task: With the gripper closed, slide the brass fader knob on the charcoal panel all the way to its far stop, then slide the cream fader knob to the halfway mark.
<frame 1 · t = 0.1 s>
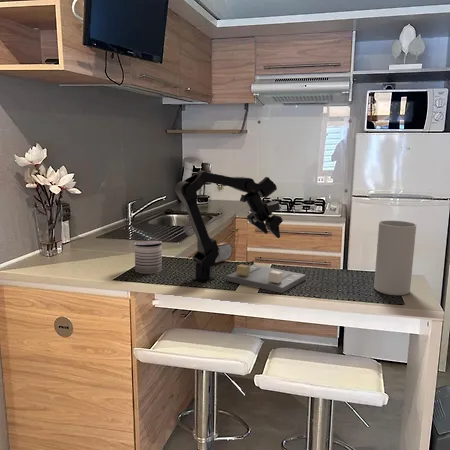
hand: (272, 235, 190), 15 cm above the counter, tool tilted 35°, fingers open, 9 cm apart
cream fader: (275, 276, 170), point 4 cm above the counter, slide at 0.0 cm
can: (148, 270, 191), on the counter
brass fader: (243, 270, 178), point 4 cm above the counter, slide at 0.0 cm
fader panel: (266, 280, 179), on the counter
cylinder vase: (391, 291, 170), on the counter
tin: (220, 262, 206), on the counter
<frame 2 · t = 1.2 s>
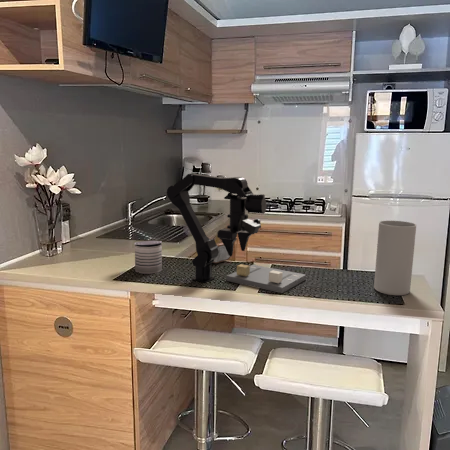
hand: (237, 253, 172), 12 cm above the counter, tool pointing down, fingers open, 9 cm apart
nothing on the counter moved.
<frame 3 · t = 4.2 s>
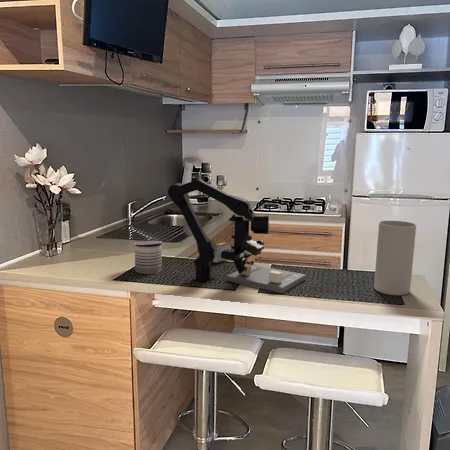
hand: (240, 272, 176), 4 cm above the counter, tool pointing down, fingers closed
brass fader: (244, 269, 178), point 4 cm above the counter, slide at 1.0 cm, touching gripper
everything else where it was.
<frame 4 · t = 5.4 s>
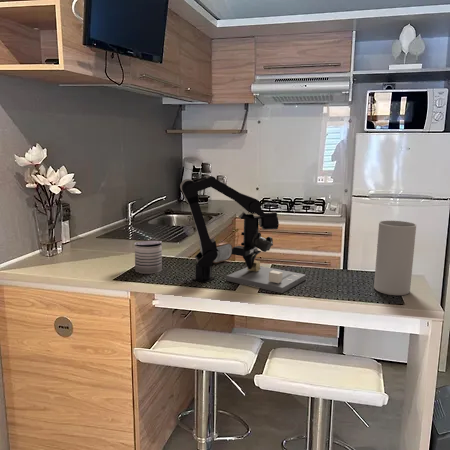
hand: (249, 268, 182), 4 cm above the counter, tool pointing down, fingers closed
brass fader: (253, 265, 184), point 4 cm above the counter, slide at 8.0 cm, touching gripper
everything else where it was.
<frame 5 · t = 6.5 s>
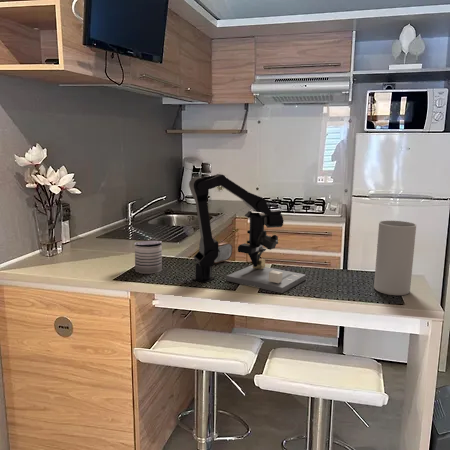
hand: (255, 266, 185), 4 cm above the counter, tool pointing down, fingers closed
brass fader: (258, 263, 188), point 4 cm above the counter, slide at 12.1 cm, touching gripper
everything else where it was.
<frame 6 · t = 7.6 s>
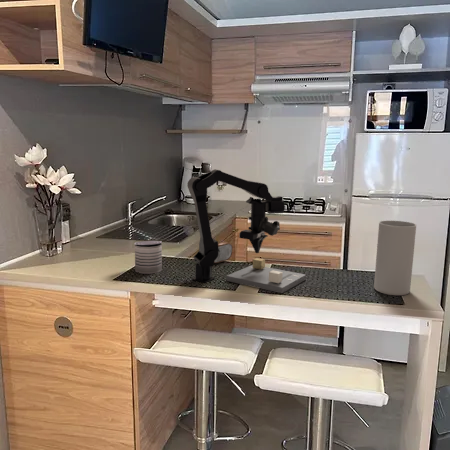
hand: (257, 252, 185), 9 cm above the counter, tool pointing down, fingers closed
brass fader: (258, 263, 187), point 4 cm above the counter, slide at 12.1 cm
everything else where it was.
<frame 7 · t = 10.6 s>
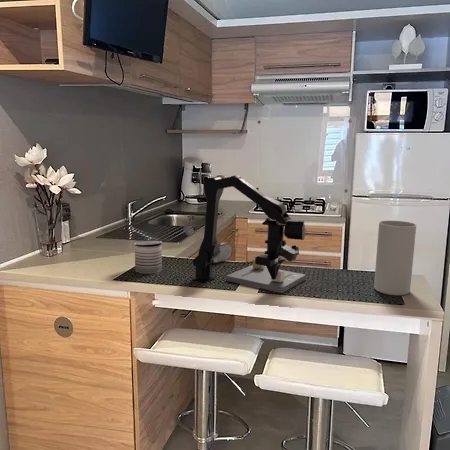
hand: (273, 279, 169), 4 cm above the counter, tool pointing down, fingers closed
cream fader: (277, 275, 171), point 4 cm above the counter, slide at 1.6 cm, touching gripper
everything else where it was.
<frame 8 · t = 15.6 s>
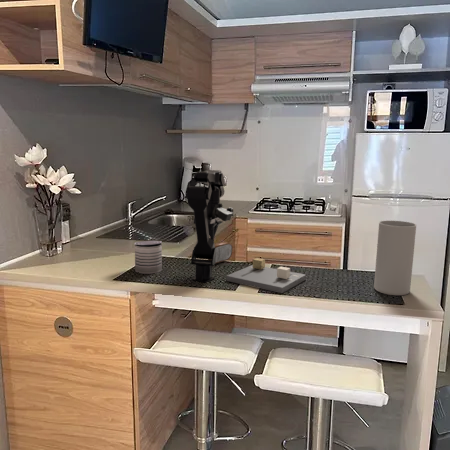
hand: (212, 238, 191), 13 cm above the counter, tool pointing down, fingers closed
cream fader: (283, 272, 175), point 4 cm above the counter, slide at 6.5 cm
everything else where it was.
at the end: brass fader slide at 12.1 cm; cream fader slide at 6.5 cm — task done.
